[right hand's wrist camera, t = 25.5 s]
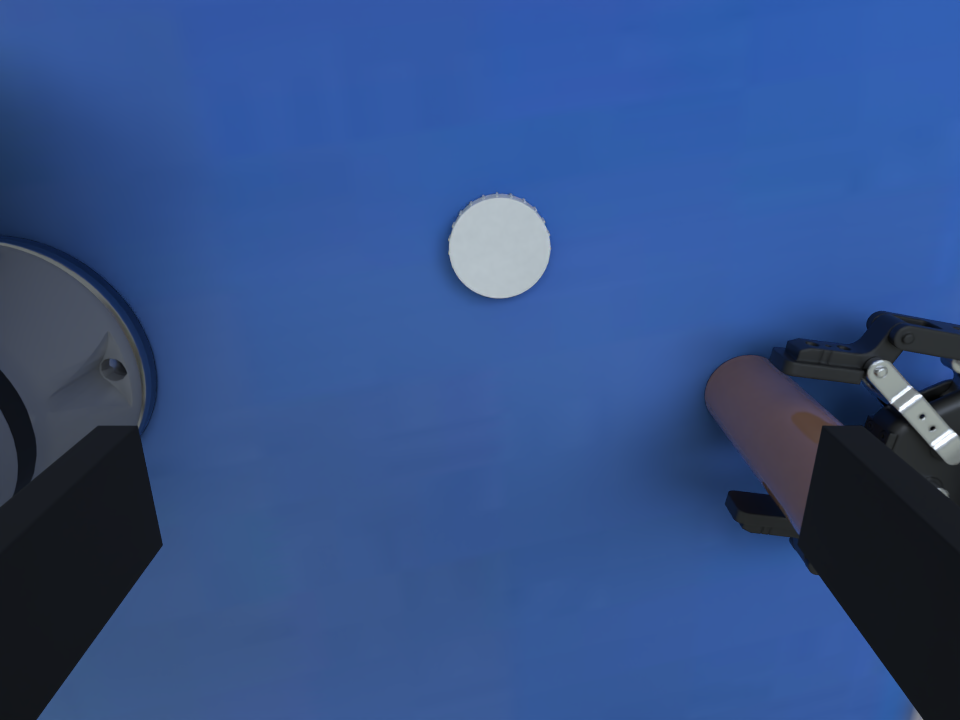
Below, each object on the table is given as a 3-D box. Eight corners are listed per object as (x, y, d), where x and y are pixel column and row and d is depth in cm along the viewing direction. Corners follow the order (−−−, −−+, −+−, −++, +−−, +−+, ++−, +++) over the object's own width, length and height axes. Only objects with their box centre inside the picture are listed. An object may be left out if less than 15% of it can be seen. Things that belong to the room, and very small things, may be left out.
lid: (429, 229, 37) (426, 235, 35) (513, 171, 35) (514, 174, 34) (485, 309, 38) (485, 318, 37) (567, 256, 37) (571, 262, 35)
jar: (799, 396, 40) (1034, 614, 23) (731, 440, 41) (906, 680, 24) (757, 338, 39) (974, 523, 21) (688, 386, 40) (842, 598, 23)
